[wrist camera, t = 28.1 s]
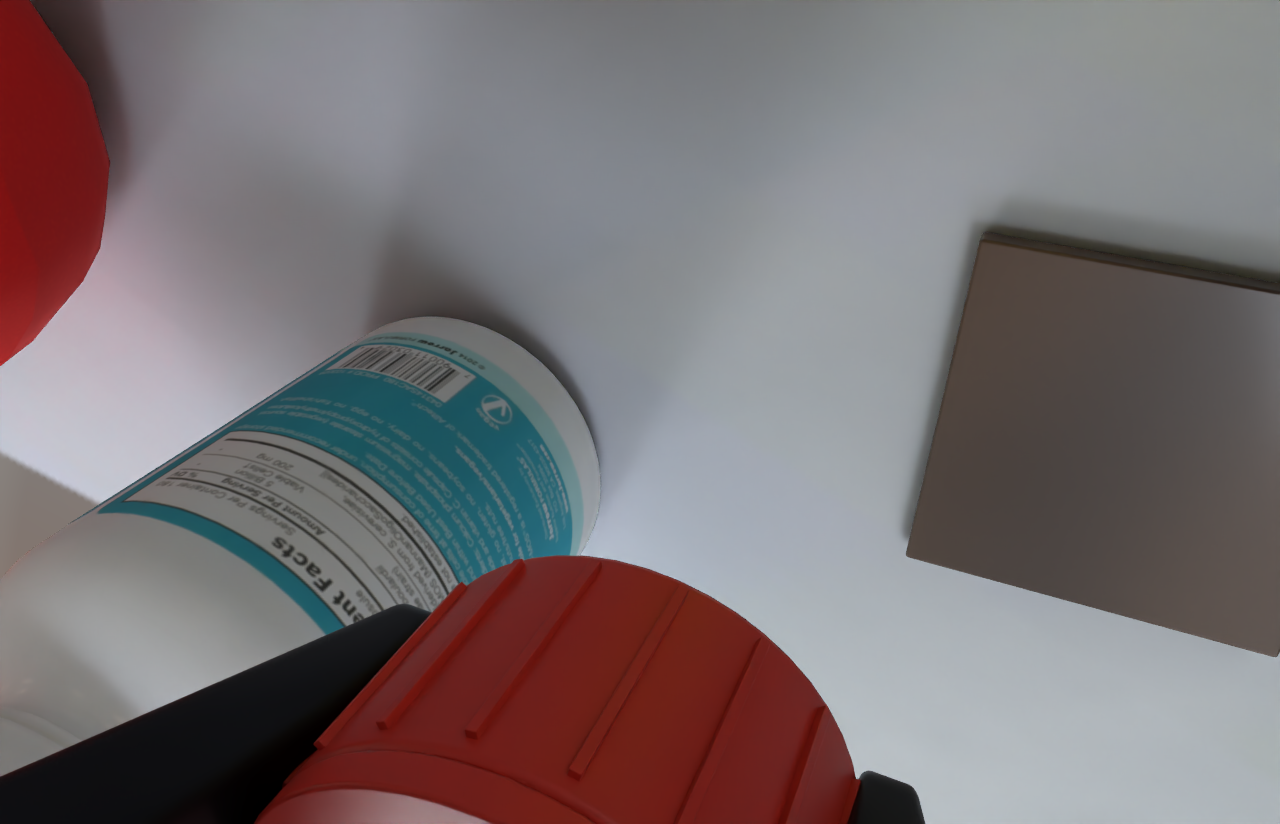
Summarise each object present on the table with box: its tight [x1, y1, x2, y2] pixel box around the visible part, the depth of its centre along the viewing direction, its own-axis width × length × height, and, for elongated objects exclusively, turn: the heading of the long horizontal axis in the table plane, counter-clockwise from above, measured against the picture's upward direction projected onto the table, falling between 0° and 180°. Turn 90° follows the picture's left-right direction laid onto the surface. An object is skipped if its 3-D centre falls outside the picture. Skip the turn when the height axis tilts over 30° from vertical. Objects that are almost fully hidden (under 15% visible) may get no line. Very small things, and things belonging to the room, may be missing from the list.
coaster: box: [906, 232, 1280, 657], centre depth 19 cm, size 7×7×1 cm
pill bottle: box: [0, 316, 601, 776], centre depth 19 cm, size 8×7×14 cm
